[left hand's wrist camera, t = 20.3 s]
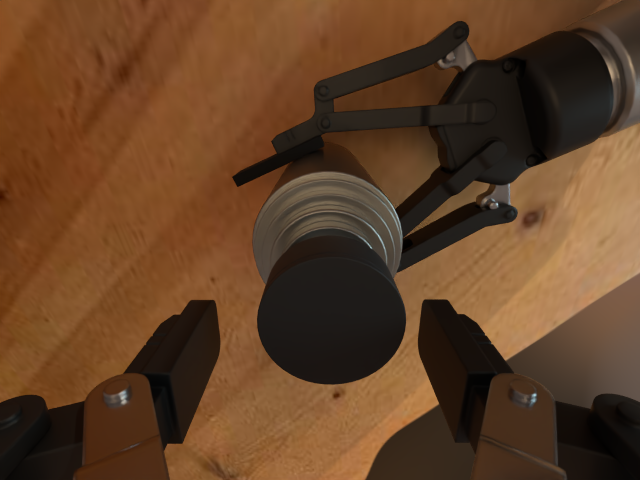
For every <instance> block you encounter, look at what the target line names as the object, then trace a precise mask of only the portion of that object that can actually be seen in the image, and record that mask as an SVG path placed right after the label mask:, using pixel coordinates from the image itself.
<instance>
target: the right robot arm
mask: <svg viewBox="0 0 640 480" xmlns="http://www.w3.org/2000/svg"><path fill="white" fill-rule="evenodd" d="M468 35H469V27H468V25H467V24H466V23H465V22H463V21H458V22H456V23H454V24H452V25H451V26H449V27H448V28H446V29H445V30H443V31H442V32H440V33H439V34H438V35H437V36H436V37H434V38H433V39H432V40H431V41H429V42H428V43H427V44H425V45H422V46H420V47H417V48H414V49H411V50H408V51H405V52H402V53H399V54H396V55H394V56H391V57H388V58H385V59H382V60H379V61H376V62H373V63H370V64H368V65H365V66H362V67H359V68H356V69H353V70H350V71H347V72H344V73H342V74H339V75H336V76H333V77H330V78H327V79H324V80H321V81H319V82H318V83H317V84H316V85H315V87H314V98H315V113H314V115H313V117H312V118H311V119H309V120H308V121H305V122H303V123H301V124H299V125H297V126H295V127H293V128H291V129H289V130H287V131H285V132H283V133H281V134H279V135H277V136H276V137H275V138H274V139H273V140H272V141H271V142H272V144H273V146H274V148H275V150H276V152H277V154H275V155H273V156H271V157H269V158H266V159H264V160H262V161H260V162H258V163H256V164H254V165H252V166H250V167H247V168H245V169H243V170H241V171H240V172H238V173H237V174H236V175H234V176H233V177H232V178H233V180H234V181H235V183H236V185H237V187H239V186H241V185H243V184H245V183H247V182H249V181H251V180H254V179H256V178H258V177H260V176H262V175H264V174H266V173H269V172H271V171H273V170H275V169H277V168H279V167H281V166H284V165H286V164H288V163H290V162H292V161H294V160H296V159H299V158H301V157H303V156H305V155H307V154H309V153H311V152H314V151H316V150H318V149H320V148H322V147H324V142H323V140H322V137H321V135H322V134H324V133H328V132H342V131H356V130H371V129H385V128H400V127H414V126H428V128H429V131H430V134H431V137H432V138H433V139H434V141H435V142H436V144H437V146H438V158H439V161H440V164H441V165H440V166H439V167H438V168H437V169H436V170H435V171H434V172H433V173H432V174H431V176H430V178H429V179H428V180H427V181H426V182H425V183H424V184H423V185H421V186H420V187H419V188H418V189H417V190H416V191H415V192H414V193H413V194H411V195H410V196H409V197H408V198H407V199H406V200H405V201H404V202H403V203H401V204H400V205H399V206H398V207H397V208H396V209H395V211H396V213H397V215H398V218H399V220H400V224H401V229H402V237H403V244H402V253H401V259H400V263H399V267H398V269H397V272H400V271H402V270H404V269H406V268H408V267H410V266H411V265H413V264H415V263H417V262H419V261H421V260H423V259H425V258H427V257H429V256H431V255H432V254H434V253H436V252H438V251H440V250H442V249H444V248H446V247H448V246H450V245H452V244H453V243H455V242H457V241H459V240H461V239H463V238H465V237H467V236H469V235H471V234H472V233H474V232H476V231H478V230H480V229H482V228H484V227H487V226H492V225H498V224H503V223H509V222H512V221H513V220H515V218H516V217H517V214H518V212H517V209H516V208H515V207H513V206H511V205H510V183H512V182H513V181H514V180H516V178H517V177H518V176H519V175H520V174H521V173H522V172H524V171H525V170H526V169H528V168H530V167H533V166H536V165H539V164H542V163H544V162H547V161H549V160H552V159H554V158H556V157H559V156H561V155H564V154H566V153H568V152H571V151H573V150H576V149H578V148H580V147H583V146H585V145H588V144H590V143H592V142H594V141H595V140H596V139H598V138H602V137H607V136H610V135H612V134H615V133H617V132H619V131H622V130H624V129H626V128H629V127H631V126H633V125H636V124H638V123H640V0H622V1H620V2H618V3H616V4H614V5H612V6H609V7H607V8H605V9H603V10H601V11H599V12H597V13H594V14H592V15H590V16H588V17H586V18H584V19H581V20H579V21H577V22H575V23H573V24H571V25H569V26H568V27H566V28H565V29H564V30H563V31H557V32H554V33H552V34H549V35H547V36H545V37H543V38H541V39H539V40H537V41H534V42H532V43H530V44H528V45H526V46H524V47H522V48H520V49H517V50H515V51H513V52H511V53H509V54H507V55H505V56H502V57H500V58H498V59H496V60H477V58H476V57H475V55H474V53H473V51H472V49H471V48H470V46H469V44H468V42H467V40H466V39H467V38H468ZM432 64H433V65H434V66H435V68H436V69H438V70H445V69H447V68H451V67H452V68H455V69H456V70H457V71H458V74H457V75H456V77H455V78H454V80H453V81H452V83H451V84H450V86H449V88H448V89H447V91H446V92H445V94H444V95H443V97H442V98H441V100H440V102H439V103H438V105H430V106H416V107H402V108H388V109H373V110H359V111H345V112H334V104H333V99H335V98H338V97H341V96H344V95H347V94H350V93H353V92H356V91H359V90H362V89H365V88H368V87H371V86H374V85H377V84H380V83H382V82H385V81H388V80H391V79H394V78H397V77H400V76H403V75H406V74H409V73H412V72H415V71H417V70H420V69H422V68H425V67H427V66H429V65H432ZM473 181H479V182H484V183H489V184H490V186H489V188H488V190H487V191H486V192H484V193H482V194H480V195H478V196H477V197H476V202H472V203H469V204H467V205H464V206H462V207H460V208H458V209H456V210H454V211H453V212H451V213H449V214H447V215H445V216H443V217H442V218H440V219H438V220H436V221H434V222H432V223H430V224H429V225H427V226H425V227H423V228H421V229H419V230H418V231H416V232H414V233H412V234H410V235H408V236H407V237H405V236H406V235H407V234H408V233H409V232H410V231H412V230H413V229H414V228H415V227H416V226H417V225H418V224H420V223H421V222H422V221H423V220H424V219H425V218H427V217H428V216H429V215H430V214H431V213H432V212H433V211H435V210H436V209H437V208H438V207H439V206H440V205H442V204H443V203H444V202H445V201H446V200H447V199H448V198H450V197H451V196H453V195H456V194H458V193H460V192H461V191H462V190H463V189H464V188H466V187H467V186H468V185H469V184H470V183H471V182H473ZM404 237H405V238H404ZM397 272H396V273H397Z"/></svg>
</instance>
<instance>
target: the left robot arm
mask: <svg viewBox="0 0 640 480" xmlns="http://www.w3.org/2000/svg"><path fill="white" fill-rule="evenodd" d="M418 349H419V355H420V358H421V360H422V363H423V365H424V368H425V370H426V373H427V375H428V377H429V380H430V382H431V385H432V387H433V390H434V392H435V395H436V397H437V399H438V402H439V404H440V407H441V409H442V412H443V414H444V417H445V419H446V421H447V424H448V426H449V429H450V431H451V434H452V436H453V438H454V441H455V442H458V443H460V442H461V443H466V442H467V443H470V444H471V446H472V448H473V450H474V453H475V459H474V464H473V468H472V473H471V478H470V480H640V402H638V401H636V400H633V399H631V398H628V397H625V396H621V395H616V394H601V395H598V396H596V397H595V399H594V401H593V403H592V406H591V409H589V408H584V407H580V406H576V405H571V404H567V403H562V402H558V401H555V400H554V397H553V396H552V394H551V393H550V392H549V391H548V390H547V389H546V388H545V387H544V386H542V385H541V384H540V383H538V382H536V381H535V380H533V379H531V378H528V377H526V376H523V375H519V374H515V373H514V372H513V371H512V369H511V368H510V367H509V365H508V364H507V363H506V361H505V360H504V359H503V357H502V356H501V355H500V353H499V352H498V351H497V349H496V348H495V346H494V345H493V344H491V341H490V340H489V338H488V337H487V336H485V333H484V332H483V330H482V329H481V328H480V326H479V325H478V324H477V323H476V322H475V321H473V320H472V319H470V318H469V317H467V316H466V315H465V314H457V313H456V311H455V310H454V308H453V307H452V305H451V304H450V302H449V301H448V300H424V301H423V303H422V309H421V317H420V326H419V335H418ZM219 352H220V333H219V324H218V316H217V307H216V303H215V301H214V300H191V301H190V302H189V303H188V304H187V306H186V307H185V309H184V310H183V312H182V313H181V314H180V315H173V316H171V317H170V318H168V319H167V320H166V321H164V322H163V323H161V324H160V325H159V327H158V328H157V329H156V331H155V332H154V333H153V336H151V337H150V339H149V340H148V341H147V343H146V345H144V347H143V348H142V349H141V351H140V352H139V353H138V355H137V356H136V357H135V359H134V360H133V361H132V363H131V364H130V365H129V367H128V368H127V369H126V371H125V372H124V373H123V374H121V375H117V376H114V377H112V378H109V379H107V380H105V381H104V382H102V383H100V384H99V385H98V386H96V387H95V388H94V389H93V390H92V391H91V392H90V393H89V394H88V396H87V397H86V400H85V401H82V402H79V403H75V404H70V405H66V406H62V407H57V408H53V409H49V410H48V408H47V405H46V403H45V400H44V399H43V398H42V397H40V396H37V395H24V396H19V397H15V398H11V399H8V400H6V401H3V402H1V403H0V480H170V478H169V473H168V468H167V464H166V459H165V454H164V450H165V448H166V446H167V444H182V443H183V441H184V438H185V436H186V434H187V431H188V429H189V426H190V424H191V422H192V419H193V417H194V414H195V412H196V410H197V407H198V405H199V402H200V400H201V398H202V395H203V393H204V390H205V388H206V386H207V383H208V381H209V378H210V376H211V374H212V371H213V369H214V366H215V364H216V362H217V359H218V356H219Z"/></svg>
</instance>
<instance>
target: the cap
mask: <svg viewBox="0 0 640 480" xmlns="http://www.w3.org/2000/svg"><path fill="white" fill-rule="evenodd" d="M405 326H406V313H405V307H404V304H403V301H402V298H401V295H400V293H399V291H398V289H397V286H396V284H395V282H394V279H393V277H392V275H391V273H390V271H389V269H388V267H387V265H386V263H385V262H384V261H383V259H382V258H381V257H380V256H379V255H378V254H377V253H376V252H375V251H374V250H373V249H371V248H370V247H369V246H367V245H365V244H364V243H362V242H359V241H357V240H355V239H351V238H348V237H343V236H336V235H326V236H318V237H313V238H309V239H307V240H304V241H302V242H300V243H298V244H296V245H294V246H292V247H291V248H290V249H288V250H287V251H286V252H285V253H284V254H283V255H281V257H280V258H279V259H278V260H277V261H276V263H275V264H274V266H273V268H272V270H271V272H270V274H269V277H268V280H267V283H266V286H265V289H264V293H263V296H262V299H261V302H260V305H259V309H258V316H257V327H258V332H259V337H260V339H261V342H262V345H263V346H264V348H265V350H266V352H267V353H268V355H269V356H270V357H271V359H272V360H273V361H274V362H275V363H276V364H277V365H278V366H280V367H281V368H282V369H283V370H285V371H286V372H288V373H289V374H291V375H293V376H295V377H297V378H300V379H302V380H305V381H309V382H313V383H318V384H344V383H349V382H353V381H356V380H360V379H362V378H365V377H367V376H369V375H371V374H373V373H374V372H376V371H377V370H379V369H380V368H381V367H383V366H384V365H385V364H386V363H387V362H388V361H389V360H390V359H391V358H392V357H393V355H394V354H395V353H396V351H397V349H398V348H399V346H400V344H401V341H402V339H403V336H404V332H405Z"/></svg>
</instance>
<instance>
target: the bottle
mask: <svg viewBox="0 0 640 480" xmlns="http://www.w3.org/2000/svg"><path fill="white" fill-rule="evenodd" d="M326 235H336V236H343V237H348V238H351V239H355V240H357V241H359V242H362V243H364V244H365V245H367V246H369V247H370V248H371V249H373V250H374V251H375V252H376V253H377V254H378V255H379V256H380V257H381V258H382V259H383V261H384V262H385V263H386V265H387V267H388V269H389V271H390V273H391V275H392V277H393V278H394V276H395V274H396V272H397V269H398V267H399V263H400V259H401V253H402V244H403V237H402V229H401V224H400V220H399V218H398V215H397V213H396V211H395V209H394V207H393V205H392V204H391V202H390V201H389V200H388V198H387V197H386V196H385V194H384V193H383V192H382V191H381V189H380V188H379V187H378V185H377V184H376V183H375V182H374V180H373V179H372V178H371V177H370V175H369V174H368V173H367V172H366V170H365V169H364V168H363V166H362V165H361V164H360V163H359V161H358V160H357V159H356V158H355V156H354V155H353V154H352V153H351V152H349V151H348V150H347V149H345V148H344V147H342V146H339V145H337V144H333V143H324V147H322V148H320V149H318V150H316V151H314V152H311V153H309V154H307V155H305V156H303V157H301V158H299V159H296V160H294V161H292V162H290V163H289V165H288V167H287V168H286V170H285V171H284V173H283V174H282V176H281V178H280V179H279V181H278V182H277V184H276V186H275V187H274V189H273V190H272V192H271V193H270V195H269V197H268V198H267V200H266V201H265V203H264V205H263V206H262V208H261V210H260V212H259V214H258V216H257V219H256V222H255V225H254V230H253V241H252V243H253V253H254V257H255V261H256V265H257V268H258V271H259V273H260V276H261V277H262V279H263V281H264V283H265V284H266V283H267V280H268V277H269V274H270V272H271V270H272V268H273V266H274V264H275V263H276V261H277V260H278V259H279V258H280V257H281V255H283V254H284V253H285V252H286V251H287V250H288V249H290V248H291V247H292V246H294V245H296V244H298V243H300V242H302V241H304V240H307V239H309V238H313V237H318V236H326Z"/></svg>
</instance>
